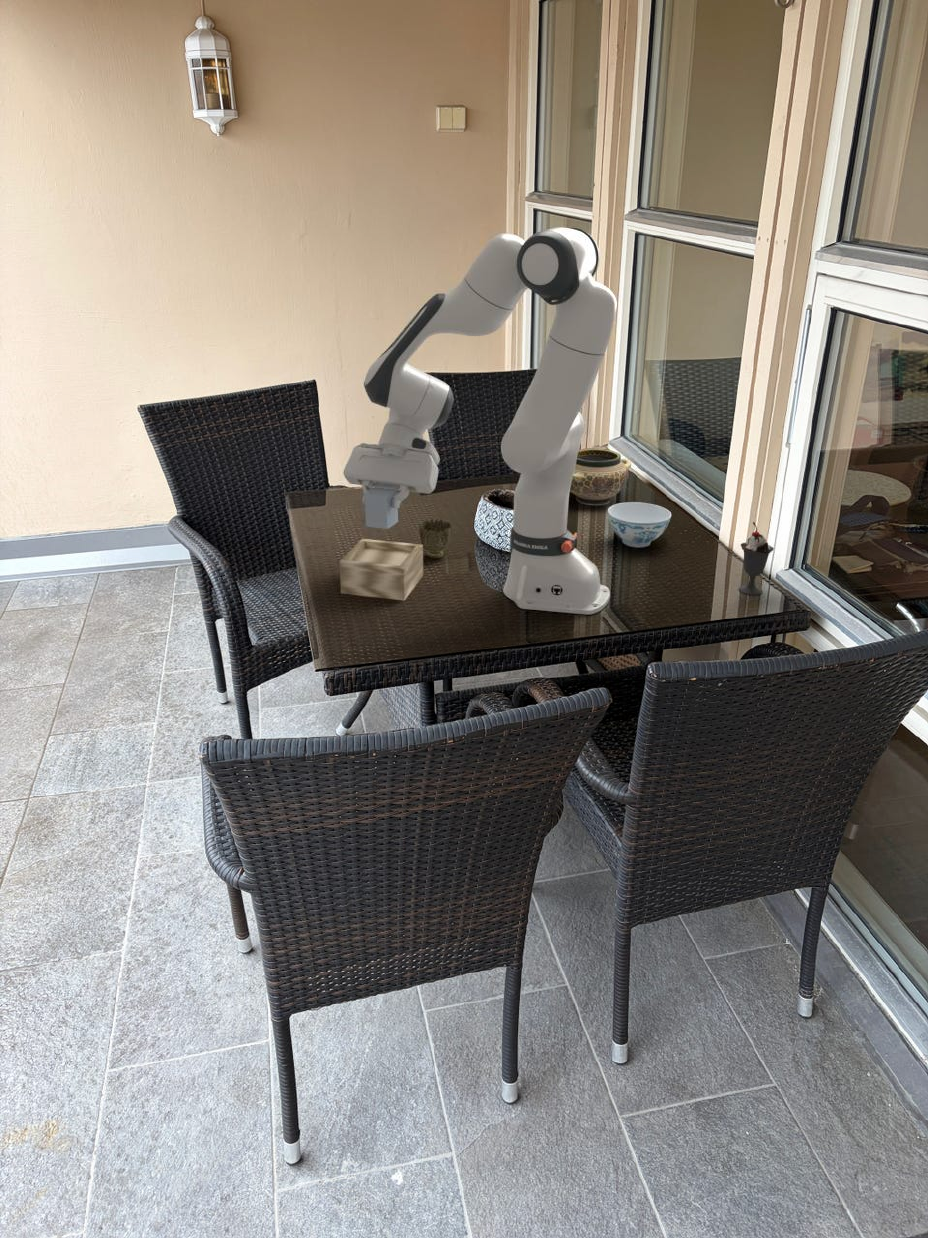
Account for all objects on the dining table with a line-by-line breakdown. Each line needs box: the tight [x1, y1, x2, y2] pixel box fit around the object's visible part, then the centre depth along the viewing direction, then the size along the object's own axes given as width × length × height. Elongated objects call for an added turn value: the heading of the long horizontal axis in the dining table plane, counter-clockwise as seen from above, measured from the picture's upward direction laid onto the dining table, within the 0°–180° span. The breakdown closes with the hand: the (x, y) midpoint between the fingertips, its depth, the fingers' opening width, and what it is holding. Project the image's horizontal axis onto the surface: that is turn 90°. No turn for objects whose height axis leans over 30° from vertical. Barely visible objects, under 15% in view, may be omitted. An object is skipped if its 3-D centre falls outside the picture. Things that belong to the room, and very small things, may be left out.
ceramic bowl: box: [570, 447, 632, 506], centre depth 251 cm, size 24×18×15 cm
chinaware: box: [607, 501, 672, 548], centre depth 224 cm, size 15×15×8 cm
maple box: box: [339, 538, 424, 601], centre depth 200 cm, size 14×14×8 cm
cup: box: [418, 518, 452, 560], centre depth 214 cm, size 8×7×8 cm
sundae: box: [738, 521, 775, 596], centre depth 197 cm, size 7×7×15 cm
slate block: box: [364, 487, 399, 530], centre depth 194 cm, size 5×5×7 cm
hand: (380, 504), depth 193 cm, fingers closed on slate block, 5 cm apart
